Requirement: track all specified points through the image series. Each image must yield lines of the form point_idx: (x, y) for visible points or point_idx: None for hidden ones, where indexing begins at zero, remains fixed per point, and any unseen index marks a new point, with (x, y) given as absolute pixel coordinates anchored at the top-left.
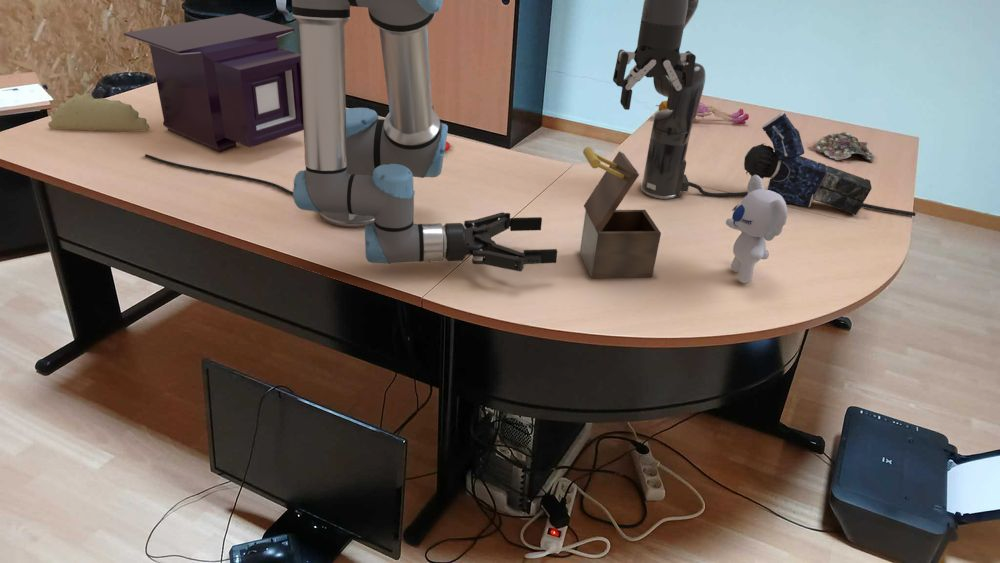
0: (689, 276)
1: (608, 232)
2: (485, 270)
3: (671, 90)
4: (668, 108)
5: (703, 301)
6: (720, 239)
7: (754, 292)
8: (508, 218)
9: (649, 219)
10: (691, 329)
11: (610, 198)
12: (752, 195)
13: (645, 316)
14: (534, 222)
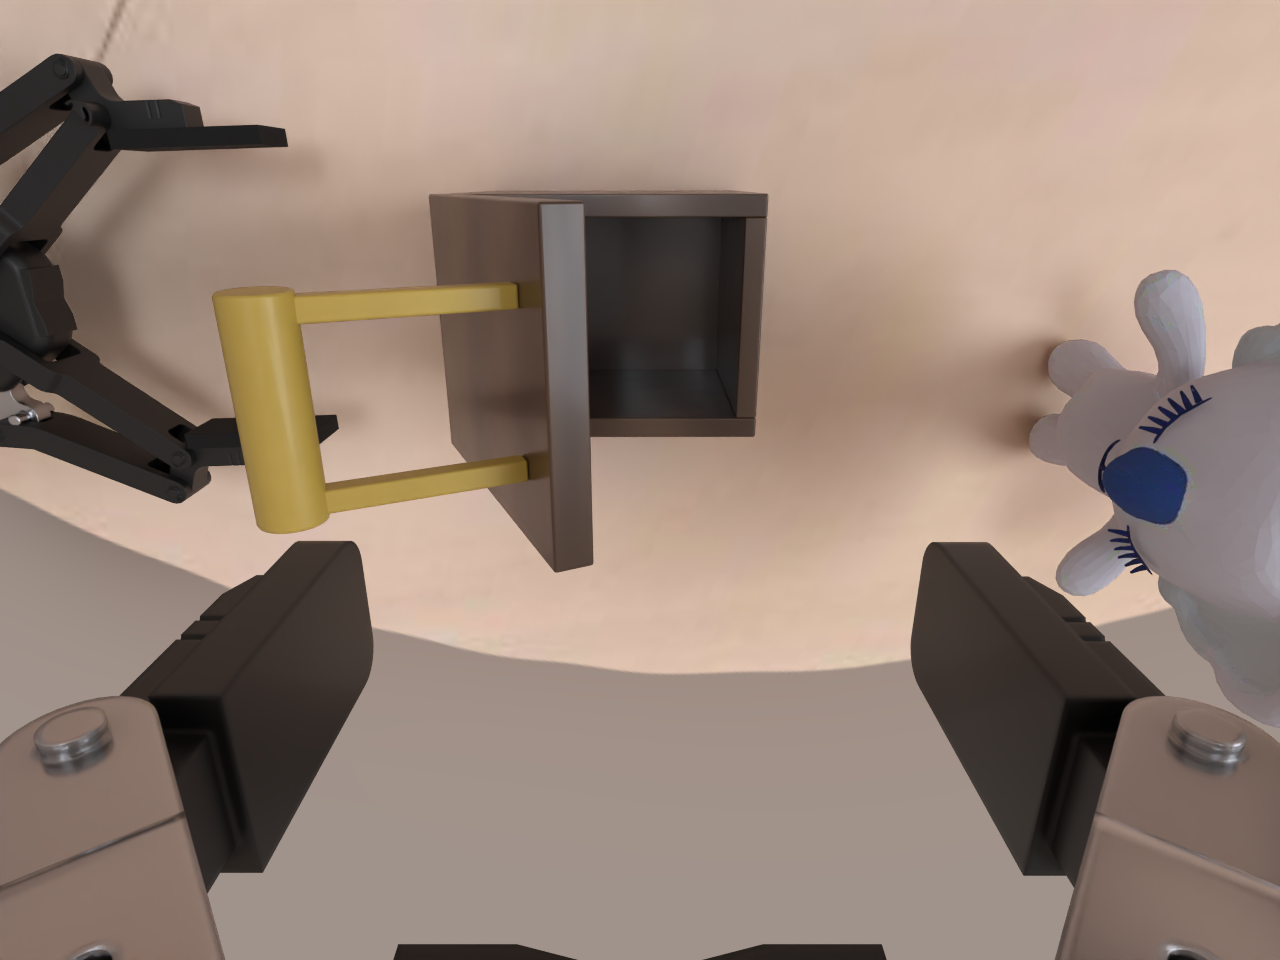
0: (869, 381)
1: None
2: (122, 309)
3: (1034, 769)
4: (918, 612)
5: (843, 528)
6: (1164, 81)
7: (1044, 488)
8: (96, 128)
9: (749, 306)
10: (741, 652)
11: (485, 437)
12: (1262, 530)
13: (629, 591)
14: (234, 146)
